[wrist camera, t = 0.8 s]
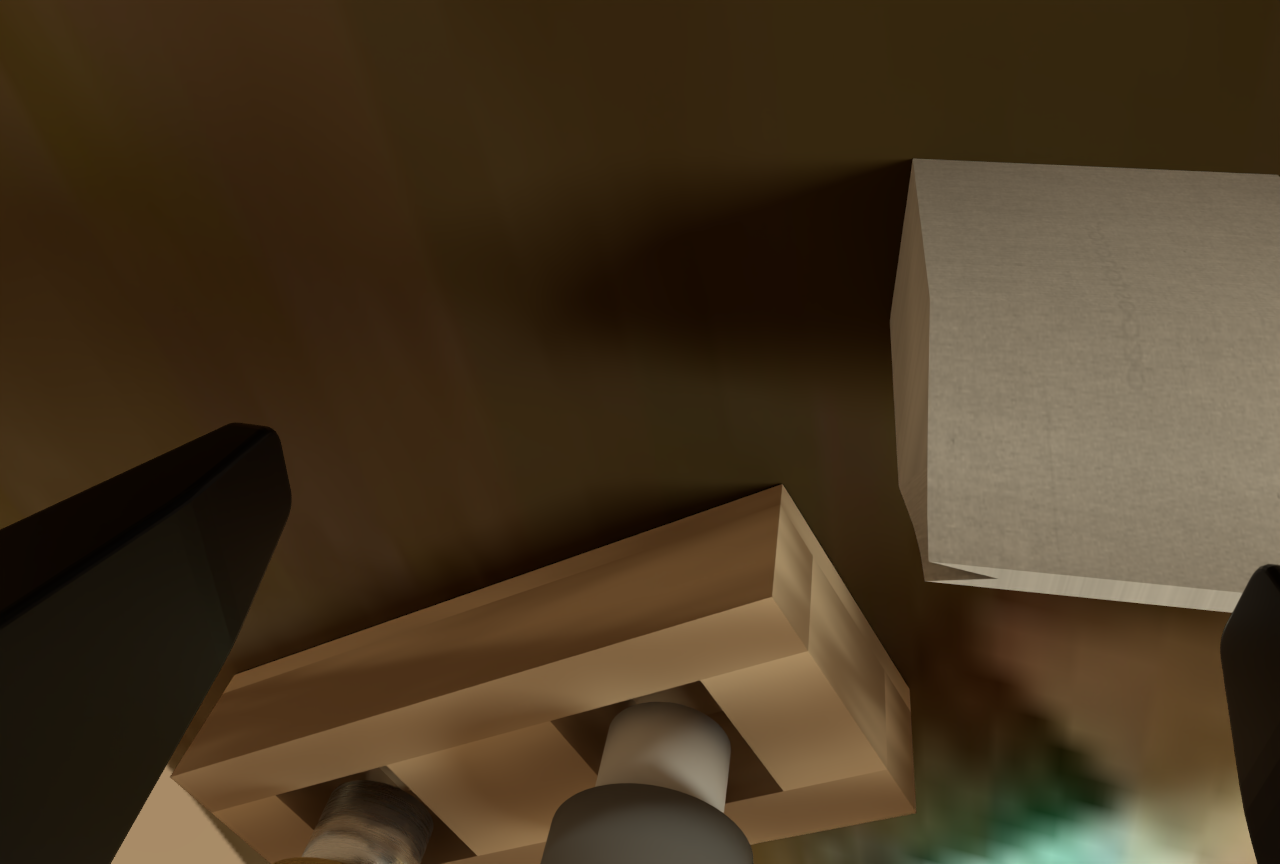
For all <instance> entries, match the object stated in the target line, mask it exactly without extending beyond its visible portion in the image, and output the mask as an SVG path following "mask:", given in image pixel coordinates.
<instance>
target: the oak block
mask: <svg viewBox="0 0 1280 864" xmlns="http://www.w3.org/2000/svg"><path fill="white" fill-rule="evenodd" d="M645 702H670V703H677V704H681V705H685V706H688V707H691V708H693V709H696V710H698V711H700V712H702V713H704V714H705V715H707V716H709V717H710V718H712V719H713V720H714V721H715V722H716V723H718V724H719V725H720V726H721V728H722V729H723V730H724V731H725V733H726V734H727V736H728V738H729V741H730V745H731V756H730V765H729V773H728V782H727V790H726V799H725V808H724V814H725V815H727V816H728V817H729V818H730V819H731V820H732V821H734V822H735V823H736V825H737V826H738V827H739V828H740V829H741V830H742V832H743V833H744V834H745V836H746V837H747V839H748V841H749V843H750V845H751V844H756V843H761V842H766V841H772V840H777V839H782V838H787V837H793V836H798V835H803V834H808V833H814V832H819V831H824V830H829V829H835V828H840V827H845V826H850V825H856V824H861V823H866V822H871V821H877V820H882V819H887V818H892V817H898V816H903V815H908V814H913V813H916V797H915V779H914V761H913V742H912V724H911V705H910V689H909V688H908V686H907V685H906V683H905V681H904V680H903V678H902V677H901V675H900V673H899V672H898V670H897V668H896V667H895V665H894V664H893V662H892V660H891V659H890V657H889V656H888V654H887V652H886V651H885V649H884V647H883V646H882V644H881V643H880V641H879V639H878V638H877V636H876V635H875V633H874V631H873V630H872V628H871V626H870V625H869V623H868V622H867V620H866V618H865V617H864V615H863V613H862V612H861V610H860V609H859V607H858V605H857V604H856V602H855V601H854V599H853V597H852V596H851V594H850V592H849V591H848V589H847V588H846V586H845V584H844V583H843V581H842V580H841V578H840V576H839V575H838V573H837V571H836V570H835V568H834V567H833V565H832V563H831V562H830V560H829V559H828V557H827V555H826V554H825V552H824V550H823V549H822V547H821V546H820V544H819V542H818V541H817V539H816V538H815V536H814V534H813V533H812V531H811V529H810V528H809V526H808V525H807V523H806V521H805V520H804V518H803V517H802V515H801V513H800V512H799V510H798V508H797V507H796V505H795V504H794V502H793V500H792V499H791V497H790V495H789V494H788V492H787V491H786V489H785V487H784V486H783V484H781V485H778V486H775V487H772V488H770V489H767V490H764V491H761V492H758V493H755V494H752V495H750V496H747V497H744V498H741V499H738V500H735V501H732V502H729V503H727V504H724V505H721V506H718V507H715V508H712V509H709V510H706V511H704V512H701V513H698V514H695V515H692V516H689V517H686V518H684V519H681V520H678V521H675V522H672V523H669V524H666V525H663V526H661V527H658V528H655V529H652V530H649V531H646V532H643V533H640V534H638V535H635V536H632V537H629V538H626V539H623V540H620V541H618V542H615V543H612V544H609V545H606V546H603V547H600V548H597V549H595V550H592V551H589V552H586V553H583V554H580V555H577V556H574V557H572V558H569V559H566V560H563V561H560V562H557V563H554V564H552V565H549V566H546V567H543V568H540V569H537V570H534V571H531V572H529V573H526V574H523V575H520V576H517V577H514V578H511V579H508V580H506V581H503V582H500V583H497V584H494V585H491V586H488V587H486V588H483V589H480V590H477V591H474V592H471V593H468V594H465V595H463V596H460V597H457V598H454V599H451V600H448V601H445V602H442V603H440V604H437V605H434V606H431V607H428V608H425V609H422V610H419V611H417V612H414V613H411V614H408V615H405V616H402V617H399V618H397V619H394V620H391V621H388V622H385V623H382V624H379V625H376V626H374V627H371V628H368V629H365V630H362V631H359V632H356V633H353V634H351V635H348V636H345V637H342V638H339V639H336V640H333V641H331V642H328V643H325V644H322V645H319V646H316V647H313V648H310V649H308V650H305V651H302V652H299V653H296V654H293V655H290V656H287V657H285V658H282V659H279V660H276V661H273V662H270V663H267V664H265V665H262V666H259V667H256V668H253V669H250V670H247V671H244V672H242V673H239V674H236V675H234V677H233V678H232V680H231V681H230V683H229V685H228V686H227V688H226V689H225V691H224V692H223V694H222V696H221V697H220V699H219V700H218V702H217V704H216V705H215V707H214V708H213V710H212V711H211V713H210V715H209V716H208V718H207V719H206V721H205V723H204V724H203V726H202V727H201V729H200V730H199V732H198V734H197V735H196V737H195V738H194V740H193V742H192V743H191V745H190V746H189V748H188V749H187V751H186V753H185V754H184V756H183V757H182V759H181V761H180V762H179V764H178V765H177V767H176V768H175V770H174V772H173V773H172V775H171V776H170V778H172V779H173V780H174V781H175V782H176V783H178V784H179V785H180V786H181V787H182V788H183V789H184V790H186V791H187V792H188V793H189V794H190V795H191V796H193V797H194V798H195V799H196V800H197V801H198V802H200V803H201V804H202V805H203V806H204V807H205V808H207V809H208V810H209V811H210V812H211V813H212V814H214V815H215V816H216V817H217V818H218V819H219V820H221V821H222V822H223V823H224V824H225V825H226V826H227V827H229V828H230V829H231V830H232V831H233V832H234V833H236V834H237V835H238V836H239V837H240V838H241V839H243V840H244V841H245V842H246V843H247V844H248V845H250V846H251V847H252V848H253V849H254V850H255V851H257V852H258V853H259V854H260V855H261V856H262V857H264V858H265V859H266V860H267V861H268V862H269V863H271V864H272V863H274V862H277V861H280V860H283V859H288V858H296V857H302V854H303V852H304V850H305V848H306V846H307V844H308V842H309V840H310V838H311V836H312V833H313V831H314V829H315V827H316V825H317V823H318V821H319V819H320V817H321V815H322V812H323V810H324V808H325V806H326V804H327V802H328V800H329V798H330V796H331V794H332V792H333V790H334V789H335V788H336V787H337V786H339V785H341V784H342V783H345V782H348V781H353V780H371V781H377V782H382V783H386V784H389V785H392V786H394V787H397V788H399V789H401V790H403V791H405V792H407V793H409V794H410V795H412V796H413V797H415V798H416V799H417V800H418V801H420V802H421V803H422V804H423V805H424V806H425V808H426V809H427V810H428V812H429V813H430V815H431V817H432V820H433V831H432V834H431V836H430V839H429V842H428V844H427V847H426V850H425V853H424V855H423V858H422V861H421V863H420V864H540V863H541V860H542V856H543V852H544V849H545V845H546V841H547V837H548V834H549V830H550V826H551V823H552V819H553V817H554V814H555V812H556V811H557V809H558V808H559V807H560V805H561V804H563V803H564V802H565V801H566V800H567V799H568V798H570V797H572V796H573V795H575V794H577V793H579V792H581V791H584V790H586V789H589V788H593V787H595V785H596V781H597V776H598V772H599V768H600V764H601V760H602V755H603V751H604V747H605V743H606V739H607V734H608V730H609V726H610V724H611V722H612V720H613V719H614V718H615V716H616V715H617V714H619V713H620V712H621V711H623V710H624V709H626V708H628V707H630V706H633V705H636V704H640V703H645Z"/></svg>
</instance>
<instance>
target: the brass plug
mask: <svg viewBox="0 0 1280 864" xmlns="http://www.w3.org/2000/svg"><path fill="white" fill-rule="evenodd" d="M432 831H433V820H432V817H431V815H430V813H429V812H428V810H427V809H426V808H425V806H424V805H423V804H422V803H421V802H420V801H418V800H417V799H416V798H415V797H413V796H412V795H410V794H409V793H407V792H405V791H403V790H401V789H399V788H397V787H394V786H392V785H389V784H386V783H382V782H377V781H371V780H353V781H348V782H345V783H342V784H341V785H339V786H337V787H336V788H335V789H334V790H333V792H332V794H331V796H330V798H329V800H328V802H327V804H326V806H325V808H324V810H323V812H322V815H321V817H320V819H319V821H318V823H317V825H316V827H315V829H314V831H313V833H312V836H311V838H310V840H309V842H308V844H307V846H306V848H305V850H304V852H303V854H302V857H296V858H288V859H283V860H280V861H277V862H274V863H272V864H420V863H421V861H422V858H423V855H424V853H425V850H426V847H427V844H428V842H429V839H430V836H431V834H432Z"/></svg>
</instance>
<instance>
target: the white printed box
mask: <svg viewBox="0 0 1280 864" xmlns="http://www.w3.org/2000/svg"><path fill="white" fill-rule="evenodd" d="M890 334H891V352H892V370H893V389H894V407H895V425H896V444H897V462H898V480H899V488H900V491H901V494H902V496H903V499H904V502H905V504H906V507H907V510H908V512H909V515H910V517H911V520H912V523H913V526H914V529H915V533H916V537H917V541H918V545H919V549H920V553H921V560H922V566H923V573H924V580H925V581H928V582H938V583H948V584H957V585H967V586H977V587H987V588H996V589H1006V590H1016V591H1026V592H1036V593H1045V594H1055V595H1065V596H1075V597H1084V598H1094V599H1104V600H1114V601H1123V602H1133V603H1143V604H1153V605H1162V606H1172V607H1182V608H1192V609H1202V610H1211V611H1221V612H1231V613H1232V612H1233V610H1234V608H1235V606H1236V605H1237V603H1238V601H1239V599H1240V597H1241V595H1242V593H1243V591H1244V589H1245V587H1246V585H1247V583H1248V581H1249V580H1250V578H1251V576H1252V575H1253V573H1254V572H1255V570H1257V569H1258V568H1259V567H1260V566H1262V565H1266V564H1277V565H1280V177H1279V176H1278V175H1266V174H1244V173H1222V172H1199V171H1177V170H1155V169H1132V168H1110V167H1088V166H1065V165H1043V164H1021V163H999V162H976V161H954V160H932V159H913V161H912V168H911V175H910V182H909V189H908V196H907V203H906V210H905V217H904V224H903V231H902V238H901V246H900V253H899V260H898V267H897V274H896V281H895V288H894V295H893V302H892V309H891V316H890Z"/></svg>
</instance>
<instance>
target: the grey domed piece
mask: <svg viewBox="0 0 1280 864" xmlns="http://www.w3.org/2000/svg"><path fill="white" fill-rule="evenodd" d="M730 756H731V745H730V741H729V738H728V736H727V734H726V733H725V731H724V730H723V729H722V728H721V726H720V725H719V724H718V723H716V722H715V721H714V720H713V719H712V718H710V717H709V716H707V715H705V714H704V713H702V712H700V711H698V710H696V709H693V708H691V707H688V706H685V705H681V704H677V703H670V702H645V703H640V704H636V705H633V706H630V707H628V708H626V709H624V710H623V711H621V712H620V713H619V714H617V715H616V716H615V718H614V719H613V720H612V722H611V724H610V726H609V730H608V734H607V739H606V743H605V747H604V751H603V755H602V760H601V764H600V768H599V772H598V776H597V781H596V785H595V787H593V788H589V789H586V790H584V791H581V792H579V793H577V794H575V795H573V796H572V797H570V798H568V799H567V800H566V801H565V802H564V803H563V804H561V805H560V807H559V808H558V809H557V811H556V812H555V814H554V817H553V819H552V823H551V826H550V830H549V834H548V837H547V841H546V845H545V849H544V852H543V856H542V860H541V863H540V864H753V853H752V849H751V846H750V843H749V841H748V839H747V837H746V836H745V834H744V833H743V832H742V830H741V829H740V828H739V827H738V826H737V825H736V823H735V822H734V821H732V820H731V819H730V818H729V817H728V816H727V815H725V814H724V808H725V799H726V790H727V782H728V773H729V765H730Z"/></svg>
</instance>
